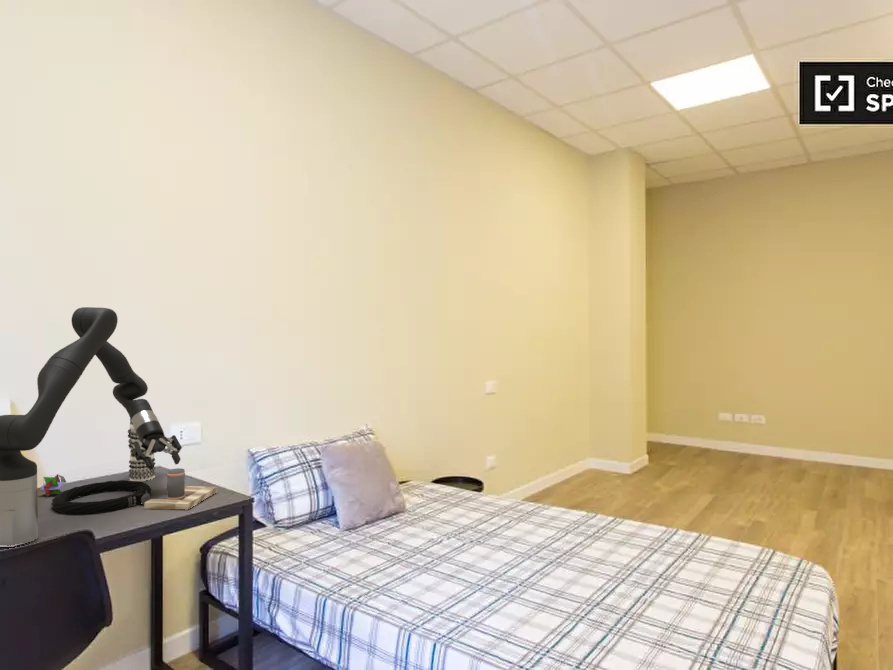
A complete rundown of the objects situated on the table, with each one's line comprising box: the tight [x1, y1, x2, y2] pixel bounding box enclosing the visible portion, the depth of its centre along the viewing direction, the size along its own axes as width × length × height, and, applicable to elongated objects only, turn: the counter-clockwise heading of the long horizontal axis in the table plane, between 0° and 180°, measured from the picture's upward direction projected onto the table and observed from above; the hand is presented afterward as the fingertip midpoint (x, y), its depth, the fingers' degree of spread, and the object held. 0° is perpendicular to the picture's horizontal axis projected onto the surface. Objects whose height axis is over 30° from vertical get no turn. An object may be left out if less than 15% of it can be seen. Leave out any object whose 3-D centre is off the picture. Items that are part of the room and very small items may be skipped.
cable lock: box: [50, 479, 152, 515], centre depth 182 cm, size 28×4×30 cm
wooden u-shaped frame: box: [143, 485, 218, 511], centre depth 183 cm, size 18×14×2 cm
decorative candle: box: [127, 417, 157, 482], centre depth 209 cm, size 9×9×25 cm
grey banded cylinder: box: [166, 467, 186, 500], centre depth 182 cm, size 5×5×10 cm
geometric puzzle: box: [37, 473, 67, 498], centre depth 188 cm, size 7×7×8 cm
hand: (165, 465), depth 186 cm, fingers open, 8 cm apart
